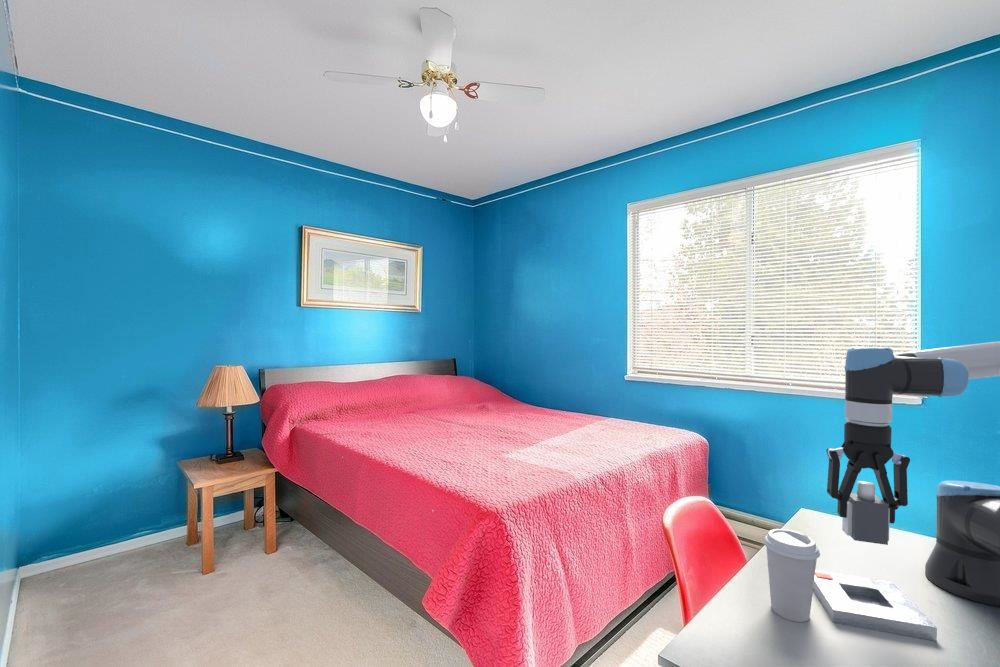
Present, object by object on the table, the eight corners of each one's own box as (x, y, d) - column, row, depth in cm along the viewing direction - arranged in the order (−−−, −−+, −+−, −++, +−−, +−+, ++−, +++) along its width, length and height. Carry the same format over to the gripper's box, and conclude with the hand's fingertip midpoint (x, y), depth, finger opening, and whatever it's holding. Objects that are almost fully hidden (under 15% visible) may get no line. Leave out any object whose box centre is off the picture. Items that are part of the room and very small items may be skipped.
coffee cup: (828, 630, 86) (830, 551, 85) (773, 623, 87) (774, 545, 87) (805, 600, 95) (806, 529, 95) (755, 595, 97) (756, 525, 97)
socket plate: (892, 593, 98) (893, 581, 98) (936, 641, 83) (936, 626, 83) (806, 579, 103) (806, 567, 103) (833, 622, 88) (833, 608, 88)
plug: (875, 533, 95) (876, 480, 95) (887, 544, 90) (889, 489, 89) (843, 529, 97) (844, 477, 96) (854, 540, 91) (855, 485, 91)
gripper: (913, 422, 93) (911, 534, 94) (808, 415, 99) (806, 521, 100) (935, 429, 86) (932, 551, 86) (820, 422, 92) (818, 535, 92)
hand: (865, 535), depth 93 cm, fingers closed on plug, 5 cm apart
